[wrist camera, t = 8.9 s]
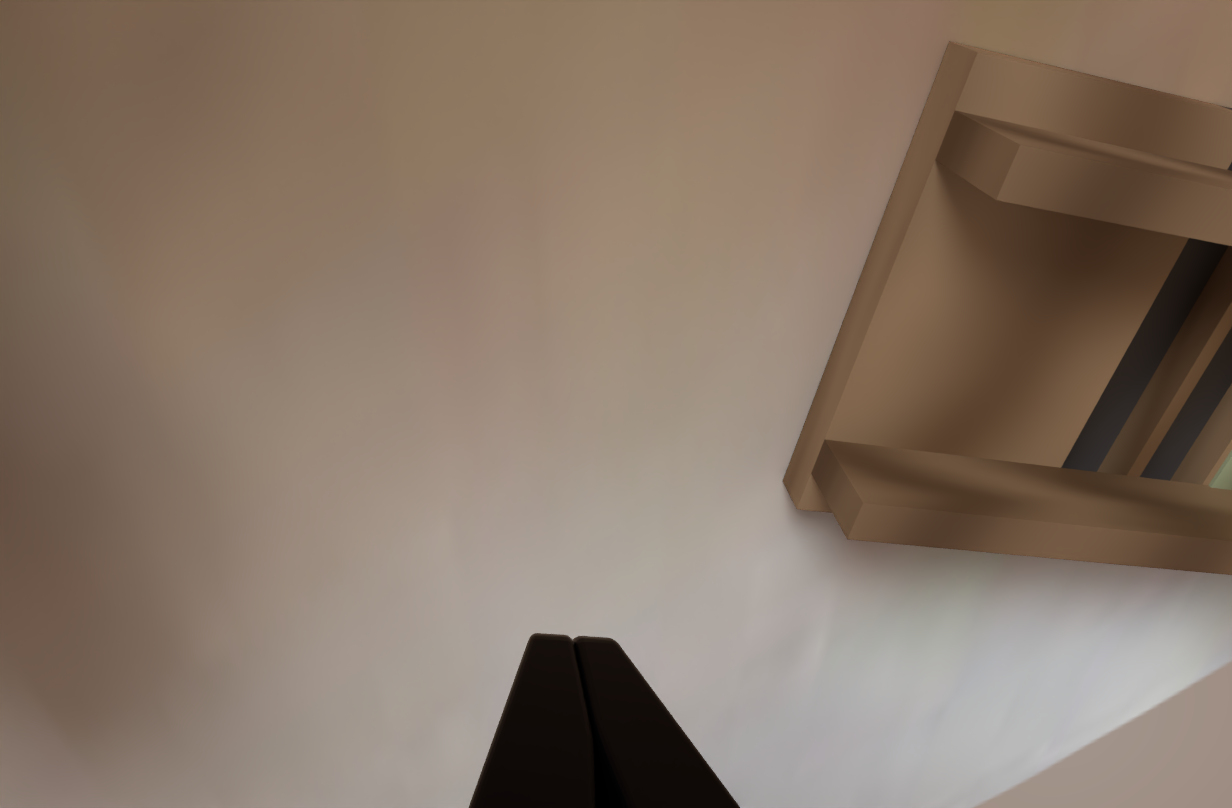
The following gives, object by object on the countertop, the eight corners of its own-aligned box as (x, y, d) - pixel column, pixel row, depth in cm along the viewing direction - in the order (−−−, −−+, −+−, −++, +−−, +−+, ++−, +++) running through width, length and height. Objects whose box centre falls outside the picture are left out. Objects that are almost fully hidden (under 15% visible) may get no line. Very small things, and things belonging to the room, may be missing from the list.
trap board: (782, 480, 24) (830, 576, 20) (949, 41, 18) (1048, 80, 15) (1300, 536, 27) (1407, 624, 24) (1561, 186, 22) (1741, 241, 19)
